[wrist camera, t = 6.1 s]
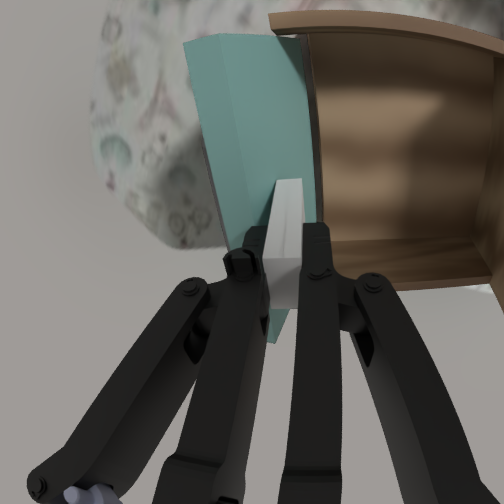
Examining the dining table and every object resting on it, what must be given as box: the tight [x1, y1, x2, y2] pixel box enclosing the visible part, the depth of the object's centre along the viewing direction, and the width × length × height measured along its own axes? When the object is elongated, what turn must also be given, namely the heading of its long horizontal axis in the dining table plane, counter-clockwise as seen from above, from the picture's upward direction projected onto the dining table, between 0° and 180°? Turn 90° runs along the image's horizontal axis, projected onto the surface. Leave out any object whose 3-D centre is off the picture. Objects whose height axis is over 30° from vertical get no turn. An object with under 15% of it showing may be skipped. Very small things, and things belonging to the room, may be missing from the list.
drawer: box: [268, 10, 504, 313], centre depth 17 cm, size 21×20×15 cm
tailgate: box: [183, 34, 316, 344], centre depth 18 cm, size 18×3×12 cm, turn 9°
